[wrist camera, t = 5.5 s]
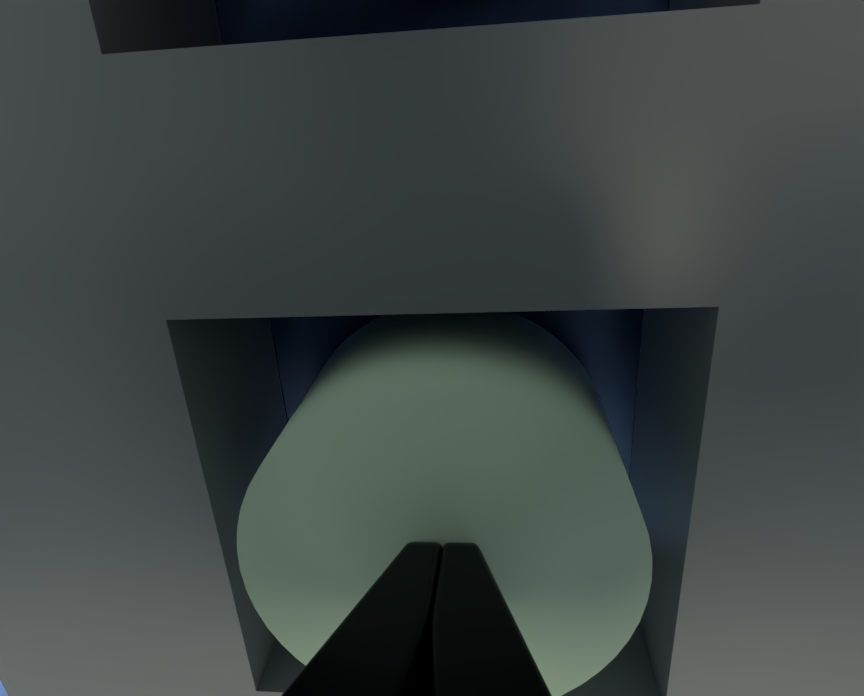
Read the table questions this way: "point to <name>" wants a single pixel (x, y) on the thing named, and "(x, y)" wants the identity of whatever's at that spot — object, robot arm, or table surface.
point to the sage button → (451, 487)
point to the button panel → (427, 308)
